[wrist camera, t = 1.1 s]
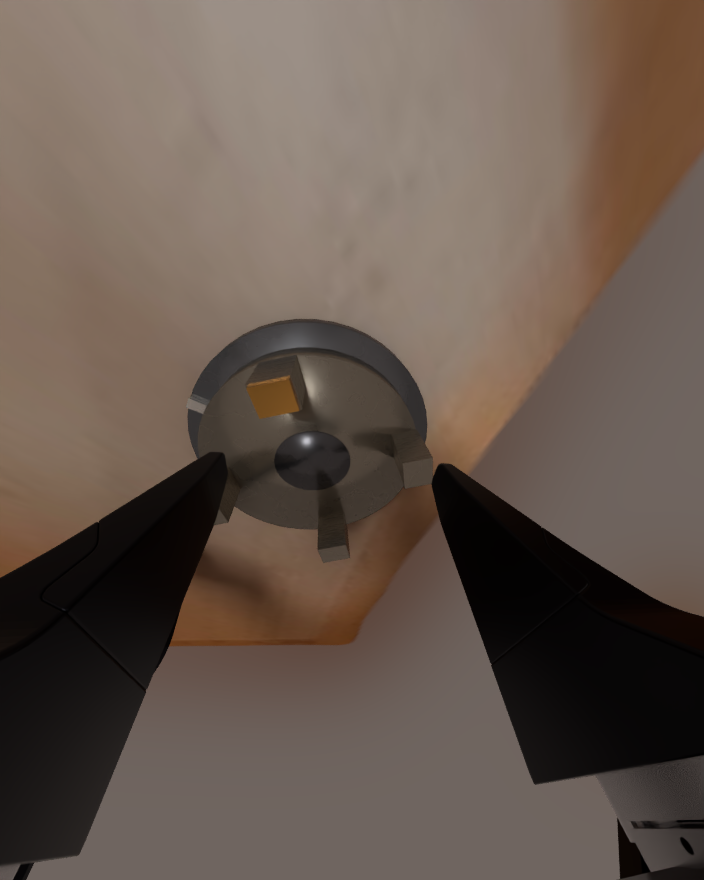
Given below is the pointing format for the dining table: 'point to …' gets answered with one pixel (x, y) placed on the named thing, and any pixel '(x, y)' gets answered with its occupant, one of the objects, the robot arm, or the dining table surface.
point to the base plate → (302, 336)
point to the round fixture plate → (312, 443)
